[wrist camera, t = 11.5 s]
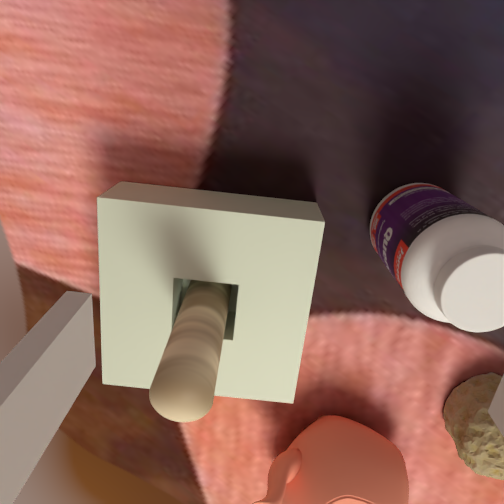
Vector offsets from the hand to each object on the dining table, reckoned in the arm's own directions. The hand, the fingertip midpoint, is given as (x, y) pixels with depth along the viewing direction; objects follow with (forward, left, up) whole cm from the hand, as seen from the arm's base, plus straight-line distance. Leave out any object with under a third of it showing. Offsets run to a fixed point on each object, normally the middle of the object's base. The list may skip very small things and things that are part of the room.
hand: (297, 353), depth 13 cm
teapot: (+31, +10, -27) cm, 42 cm away
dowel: (+11, -5, -26) cm, 28 cm away
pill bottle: (+3, +13, -27) cm, 30 cm away
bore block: (+11, -5, -27) cm, 29 cm away
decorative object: (+23, +26, -27) cm, 44 cm away
